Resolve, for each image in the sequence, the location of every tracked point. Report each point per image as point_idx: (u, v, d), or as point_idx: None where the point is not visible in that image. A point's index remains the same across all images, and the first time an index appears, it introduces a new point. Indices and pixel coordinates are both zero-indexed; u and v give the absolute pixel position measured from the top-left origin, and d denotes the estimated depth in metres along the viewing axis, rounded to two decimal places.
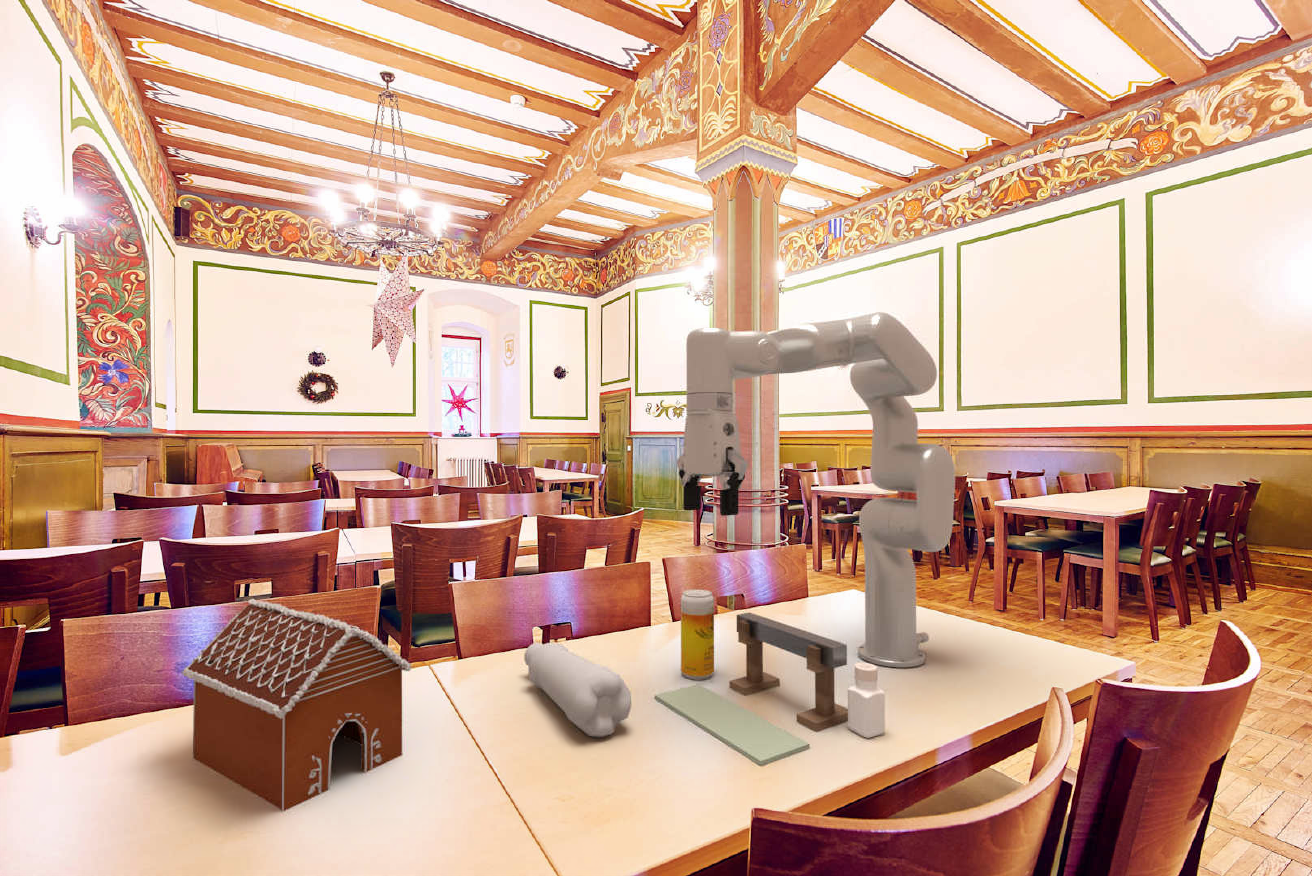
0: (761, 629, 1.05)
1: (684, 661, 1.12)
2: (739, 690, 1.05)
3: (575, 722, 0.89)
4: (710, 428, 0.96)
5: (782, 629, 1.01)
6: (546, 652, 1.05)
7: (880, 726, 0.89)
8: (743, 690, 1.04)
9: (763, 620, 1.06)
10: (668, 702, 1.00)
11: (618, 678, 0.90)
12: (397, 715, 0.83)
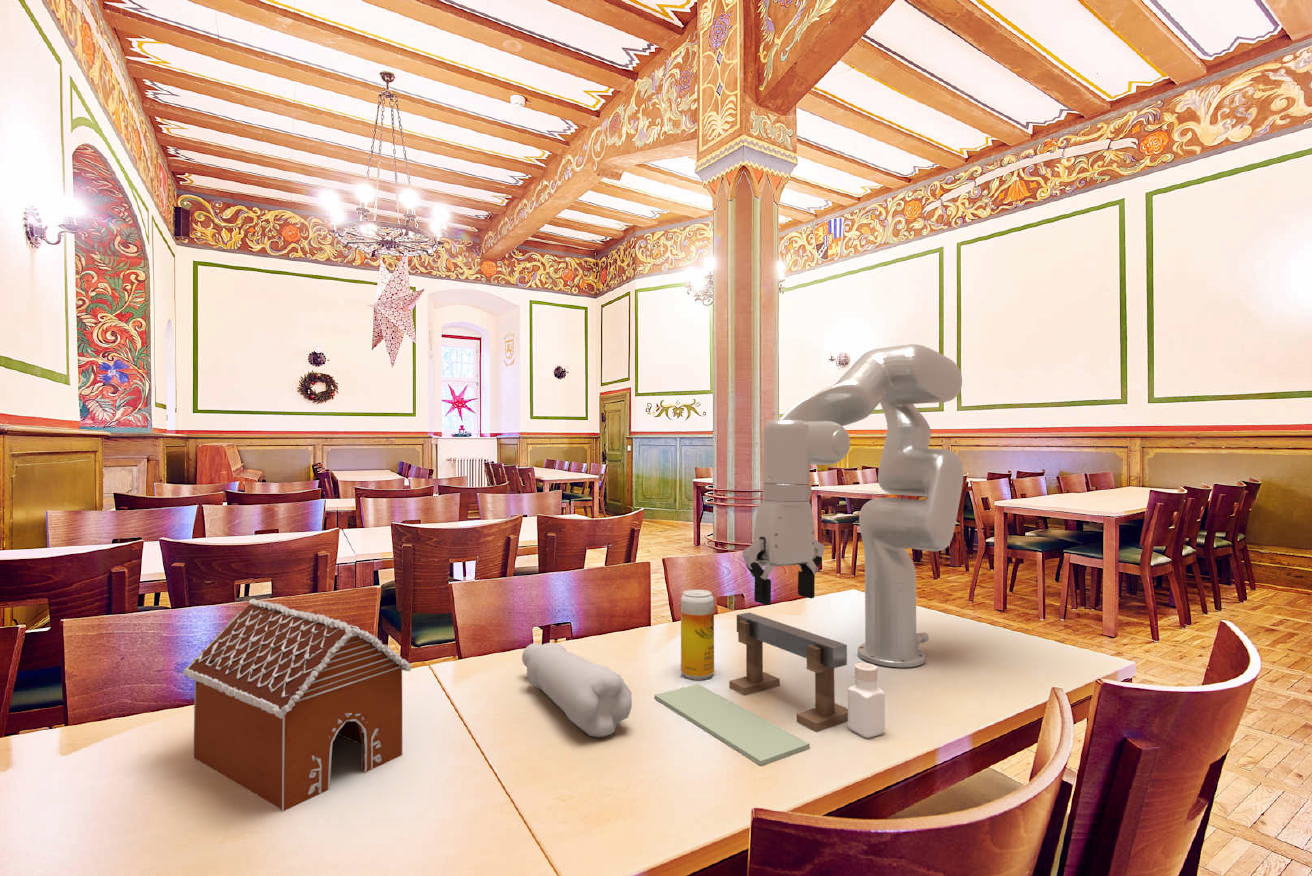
0: (761, 629, 1.05)
1: (684, 661, 1.12)
2: (739, 690, 1.05)
3: (576, 722, 0.89)
4: (809, 518, 1.01)
5: (782, 629, 1.01)
6: (545, 652, 1.05)
7: (880, 726, 0.89)
8: (743, 690, 1.04)
9: (763, 620, 1.06)
10: (668, 702, 1.00)
11: (619, 678, 0.90)
12: (397, 715, 0.83)
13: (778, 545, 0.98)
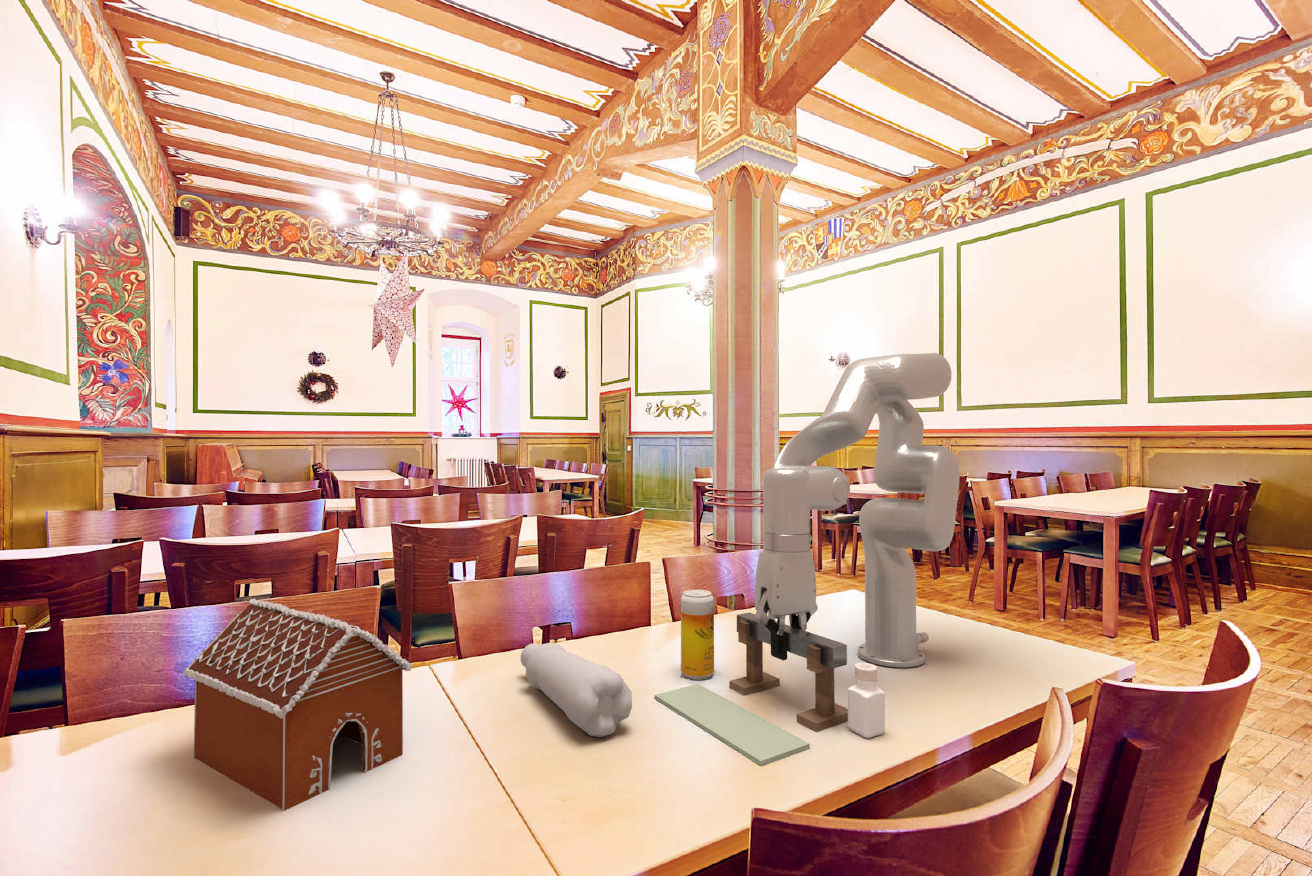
0: (761, 629, 1.05)
1: (684, 661, 1.12)
2: (739, 690, 1.05)
3: (576, 722, 0.88)
4: (810, 566, 1.01)
5: None
6: (544, 652, 1.05)
7: (880, 726, 0.89)
8: (743, 690, 1.04)
9: None
10: (668, 702, 1.00)
11: (619, 678, 0.90)
12: (398, 715, 0.83)
13: (780, 596, 0.98)
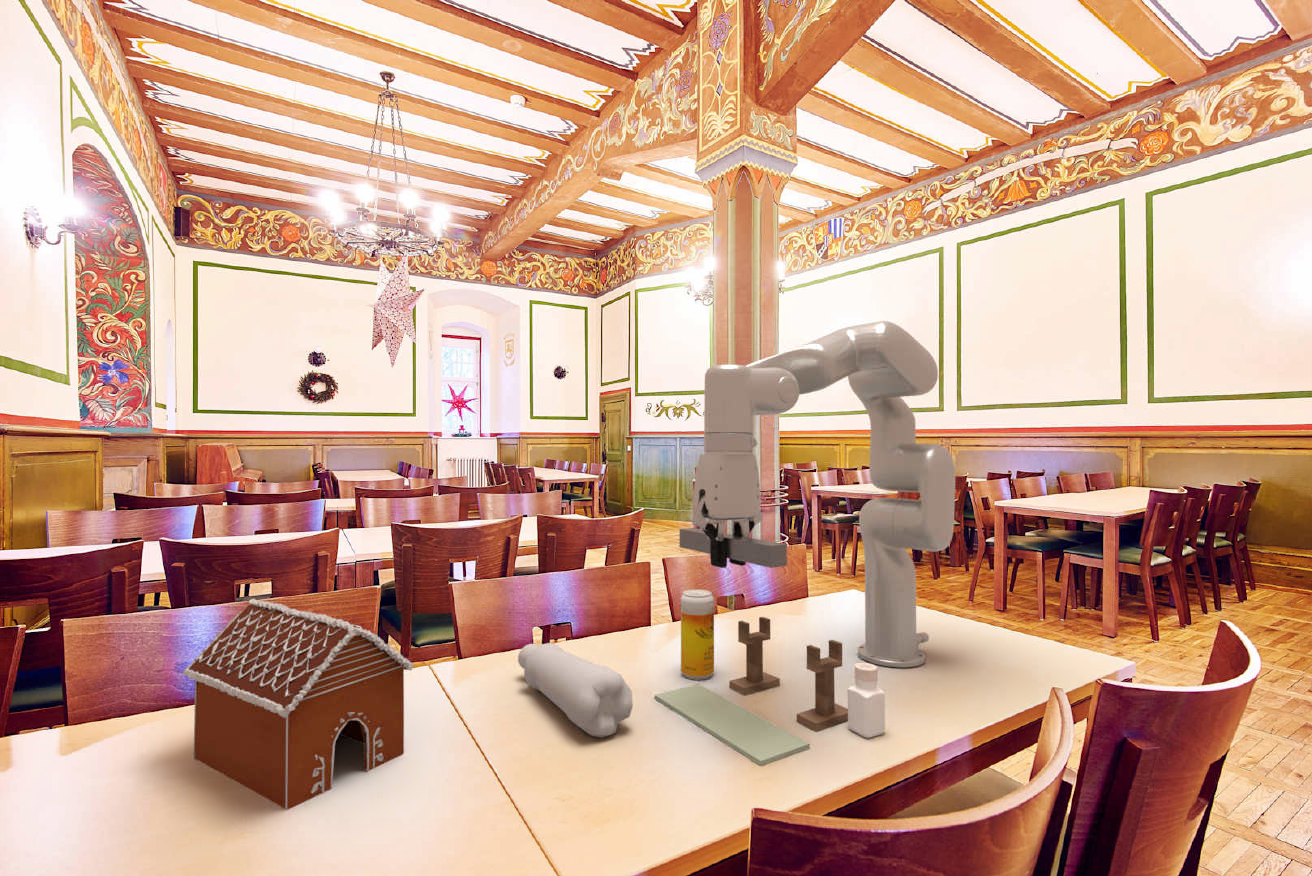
0: (702, 539, 0.98)
1: (684, 661, 1.12)
2: (739, 690, 1.05)
3: (577, 722, 0.88)
4: (753, 469, 0.95)
5: None
6: (542, 653, 1.05)
7: (880, 726, 0.89)
8: (743, 690, 1.04)
9: None
10: (668, 702, 1.00)
11: (620, 678, 0.90)
12: (399, 714, 0.84)
13: (718, 497, 0.92)
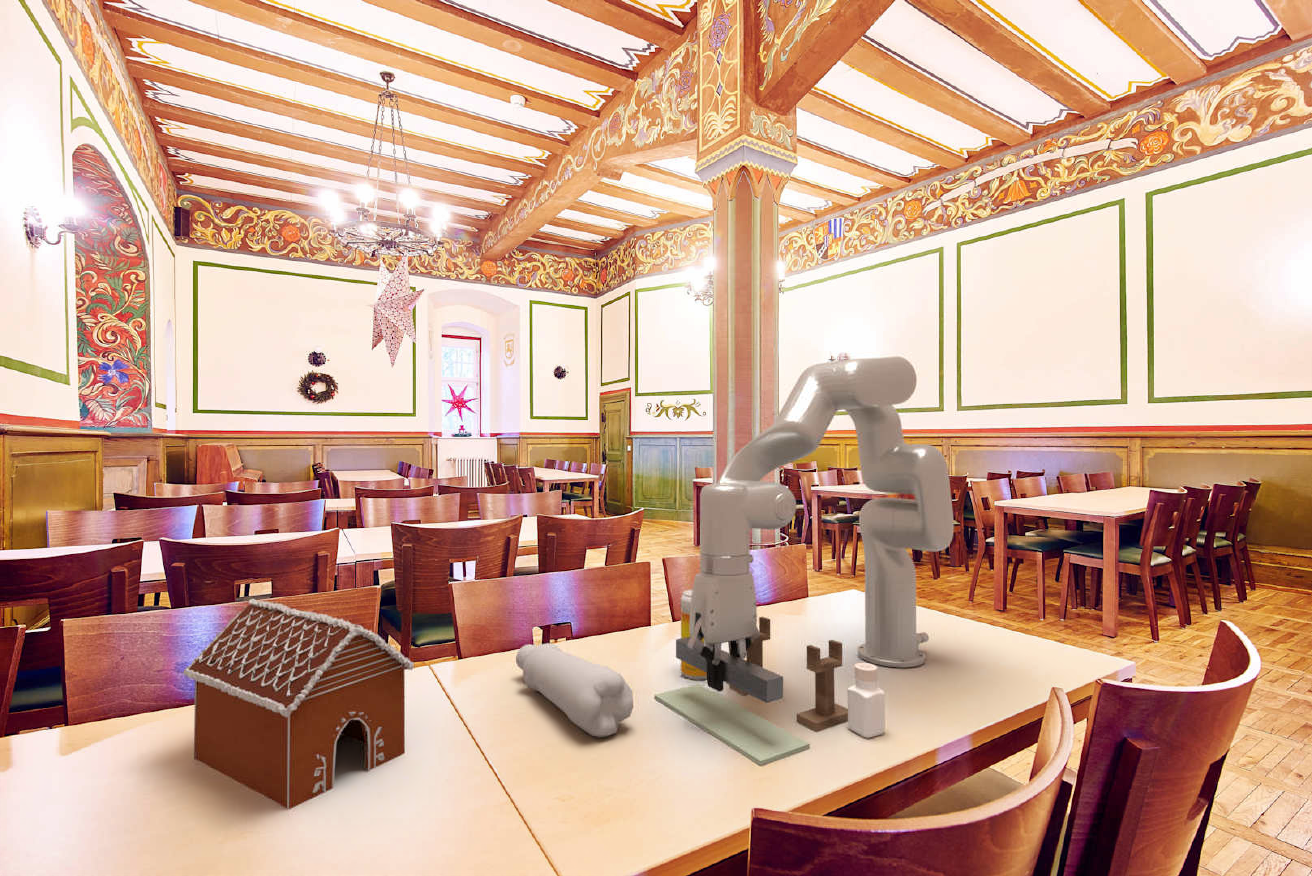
0: (698, 656, 0.97)
1: None
2: (739, 690, 1.05)
3: (578, 723, 0.88)
4: (749, 589, 0.94)
5: None
6: (541, 653, 1.05)
7: (880, 726, 0.89)
8: None
9: None
10: (668, 702, 1.00)
11: (620, 677, 0.90)
12: (400, 713, 0.84)
13: (714, 622, 0.91)
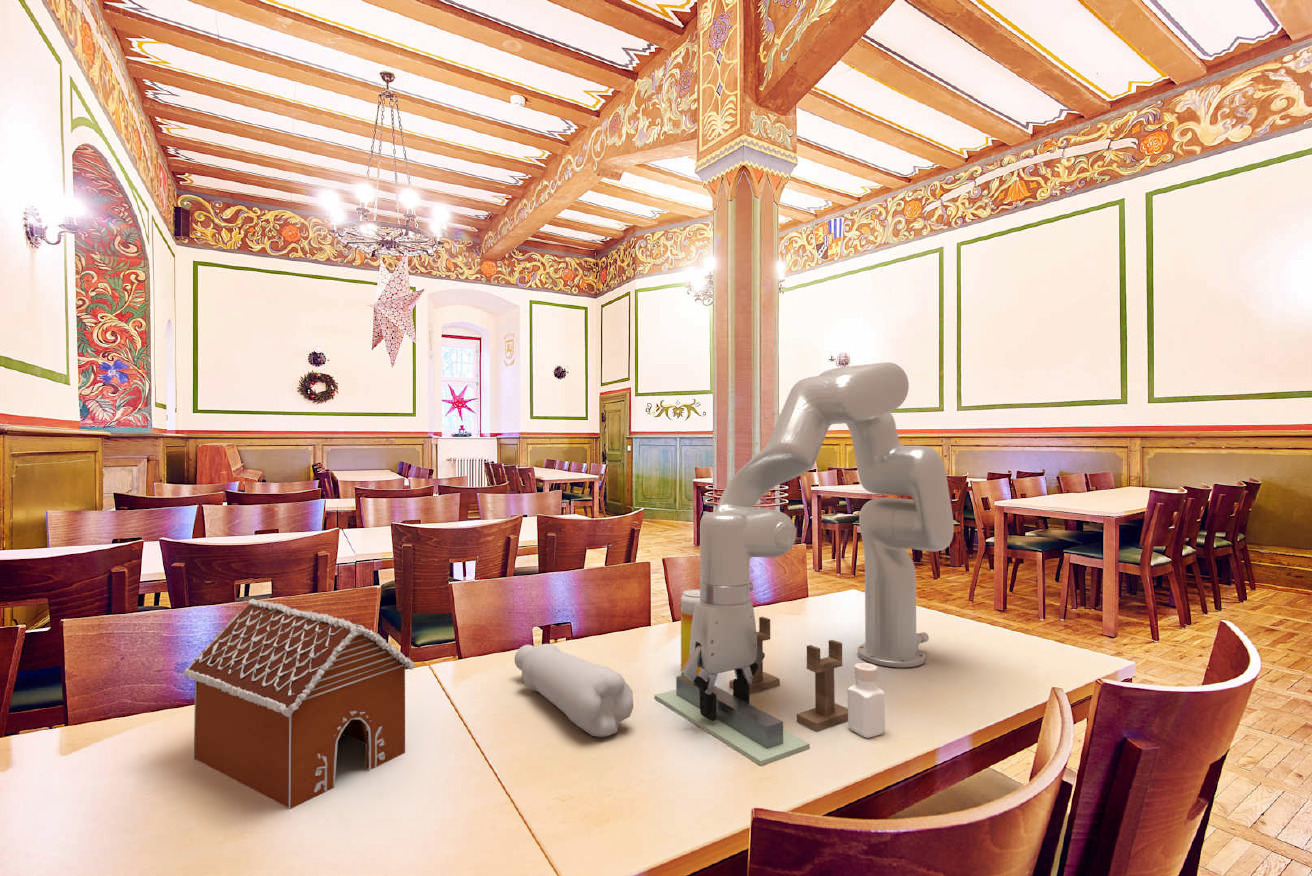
0: (699, 695, 0.97)
1: (684, 661, 1.12)
2: None
3: (578, 723, 0.88)
4: (749, 618, 0.94)
5: (719, 698, 0.94)
6: (540, 654, 1.05)
7: (880, 726, 0.89)
8: None
9: None
10: (668, 702, 1.00)
11: (621, 677, 0.90)
12: (400, 713, 0.84)
13: (714, 652, 0.91)
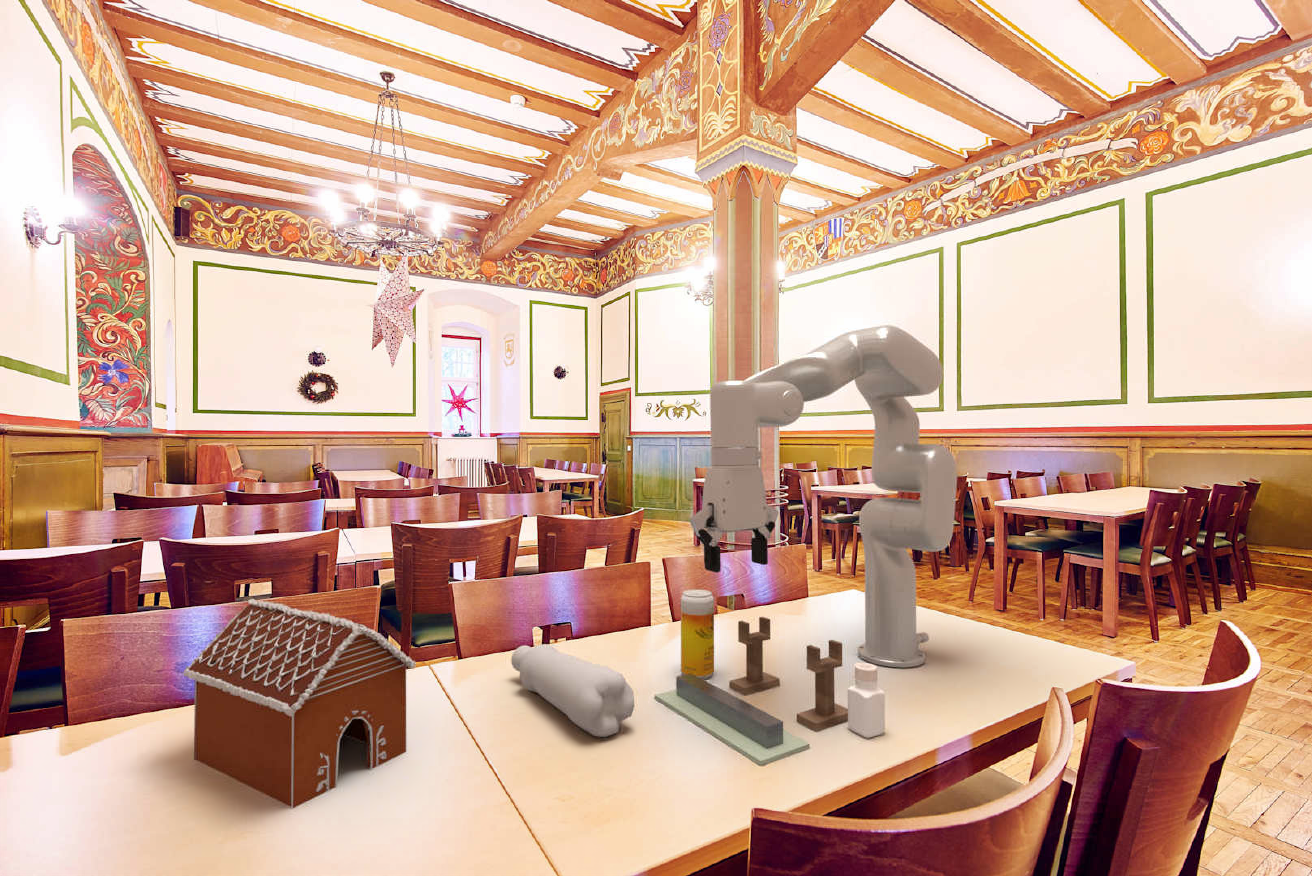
0: (699, 695, 0.97)
1: (684, 661, 1.12)
2: (739, 690, 1.05)
3: (580, 723, 0.88)
4: (759, 482, 0.98)
5: (719, 698, 0.94)
6: (538, 654, 1.04)
7: (880, 726, 0.89)
8: (743, 690, 1.04)
9: (702, 685, 0.99)
10: (668, 702, 1.00)
11: (622, 677, 0.90)
12: (401, 712, 0.84)
13: (726, 511, 0.94)
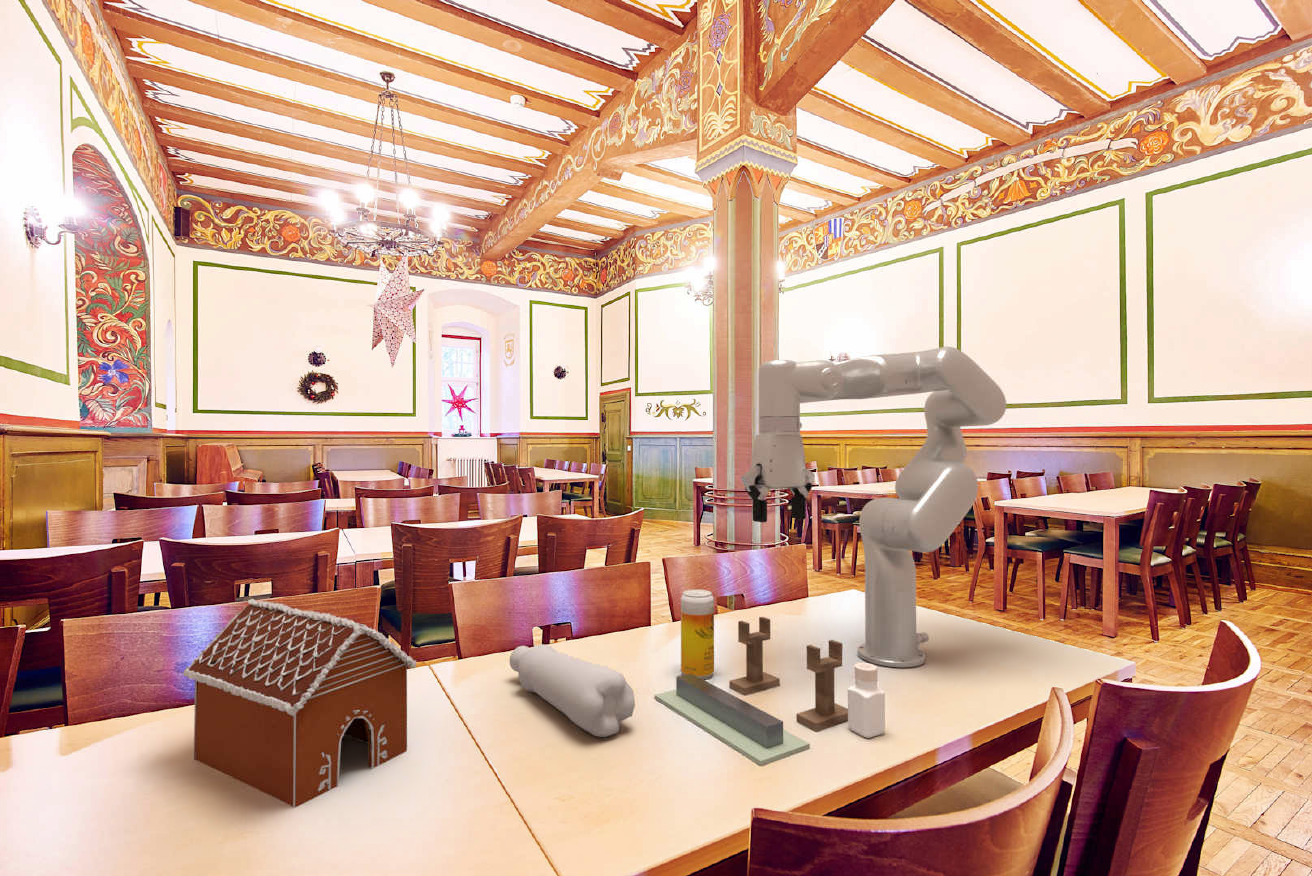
0: (699, 695, 0.97)
1: (684, 661, 1.12)
2: (739, 690, 1.05)
3: (580, 723, 0.88)
4: (800, 447, 1.14)
5: (719, 698, 0.94)
6: (537, 655, 1.04)
7: (880, 726, 0.89)
8: (743, 690, 1.04)
9: (702, 685, 0.99)
10: (668, 702, 1.00)
11: (622, 677, 0.91)
12: (402, 712, 0.84)
13: (773, 470, 1.11)
